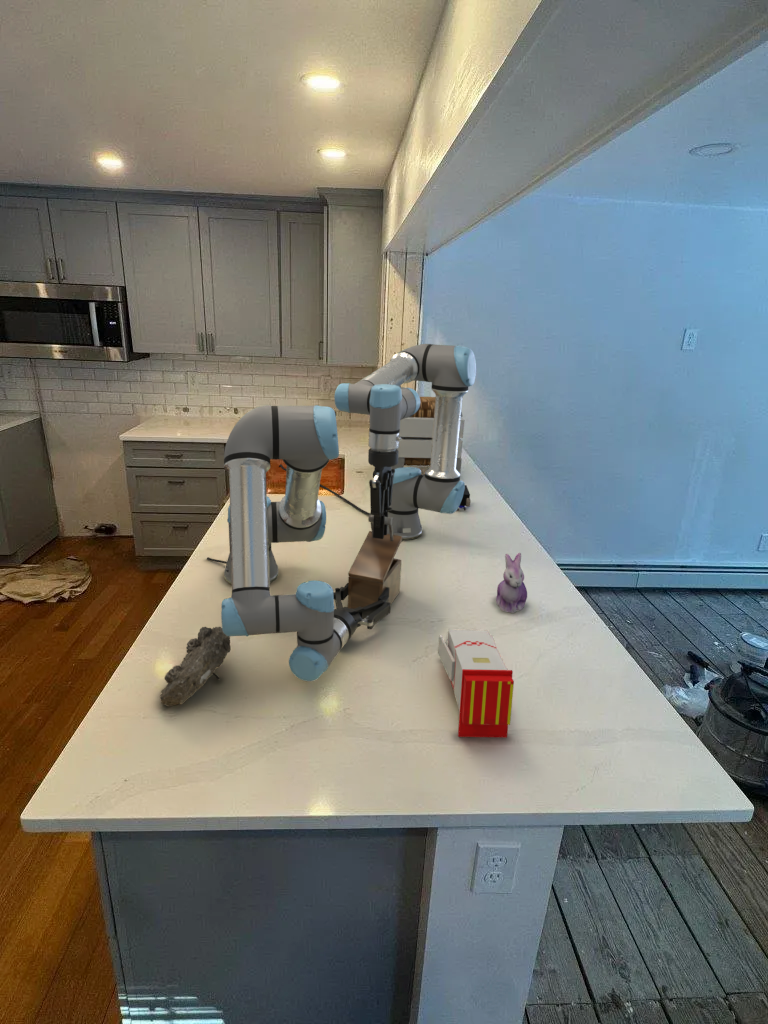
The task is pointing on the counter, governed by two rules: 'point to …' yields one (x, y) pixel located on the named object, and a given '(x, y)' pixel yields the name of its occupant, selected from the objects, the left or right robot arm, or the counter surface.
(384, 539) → the lid
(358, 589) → the chest
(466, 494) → the figurine character
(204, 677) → the fossil
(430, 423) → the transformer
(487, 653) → the toy
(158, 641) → the counter surface
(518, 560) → the figurine
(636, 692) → the counter surface
